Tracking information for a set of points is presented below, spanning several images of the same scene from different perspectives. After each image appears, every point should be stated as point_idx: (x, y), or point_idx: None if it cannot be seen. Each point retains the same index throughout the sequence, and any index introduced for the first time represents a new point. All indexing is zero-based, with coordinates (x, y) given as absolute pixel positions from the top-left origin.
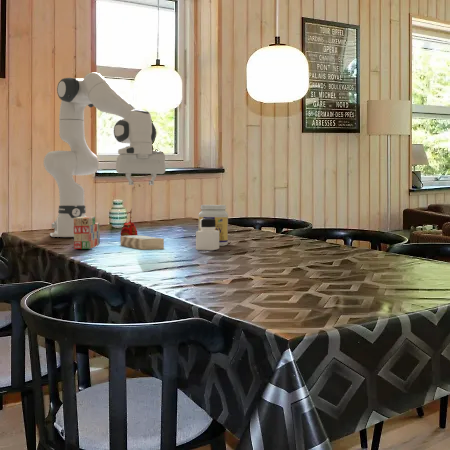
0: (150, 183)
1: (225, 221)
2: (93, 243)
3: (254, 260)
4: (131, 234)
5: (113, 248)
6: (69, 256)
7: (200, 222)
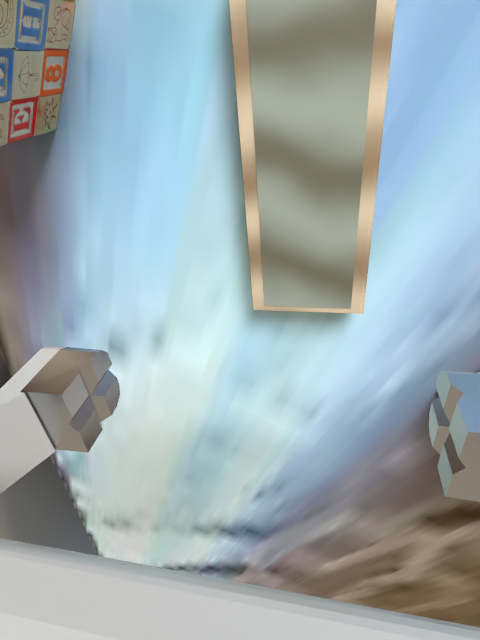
0: (433, 444)
1: None
2: (60, 27)
3: (372, 585)
4: None
5: (161, 173)
6: None
7: None
